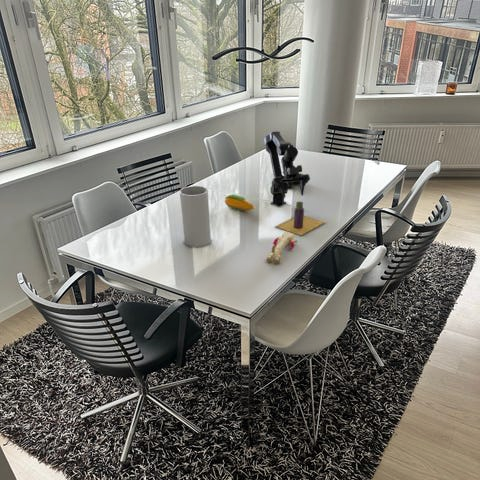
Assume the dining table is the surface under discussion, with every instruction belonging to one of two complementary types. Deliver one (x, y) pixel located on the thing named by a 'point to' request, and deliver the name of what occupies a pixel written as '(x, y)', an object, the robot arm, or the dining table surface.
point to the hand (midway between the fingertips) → (293, 196)
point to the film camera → (294, 182)
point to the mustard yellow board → (307, 226)
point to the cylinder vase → (195, 215)
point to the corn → (238, 203)
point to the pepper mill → (298, 215)
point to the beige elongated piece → (281, 246)
